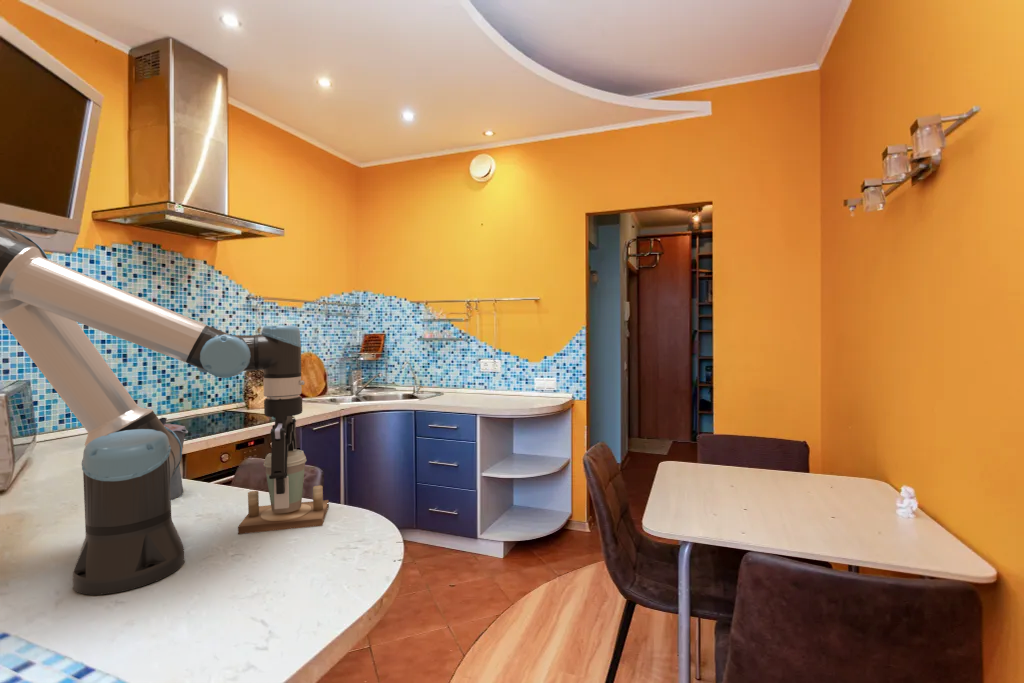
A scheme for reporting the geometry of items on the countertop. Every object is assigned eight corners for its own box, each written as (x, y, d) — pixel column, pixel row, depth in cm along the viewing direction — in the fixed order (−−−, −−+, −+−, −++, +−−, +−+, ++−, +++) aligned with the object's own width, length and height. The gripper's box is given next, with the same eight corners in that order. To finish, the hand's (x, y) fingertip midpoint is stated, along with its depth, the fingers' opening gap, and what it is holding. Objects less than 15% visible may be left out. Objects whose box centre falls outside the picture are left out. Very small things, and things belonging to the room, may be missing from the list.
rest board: (322, 525, 105) (321, 494, 105) (238, 534, 101) (237, 502, 101) (328, 506, 117) (328, 478, 117) (253, 513, 113) (252, 484, 113)
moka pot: (177, 503, 120) (174, 420, 120) (114, 504, 121) (111, 421, 120) (202, 490, 130) (200, 414, 129) (144, 491, 130) (141, 414, 130)
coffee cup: (315, 502, 113) (313, 449, 112) (294, 516, 104) (293, 458, 104) (279, 501, 114) (277, 448, 113) (256, 515, 105) (254, 458, 105)
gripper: (293, 402, 99) (295, 516, 100) (309, 390, 119) (311, 486, 120) (251, 404, 98) (254, 520, 98) (275, 391, 117) (277, 488, 118)
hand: (285, 501), depth 109 cm, fingers closed on coffee cup, 8 cm apart
